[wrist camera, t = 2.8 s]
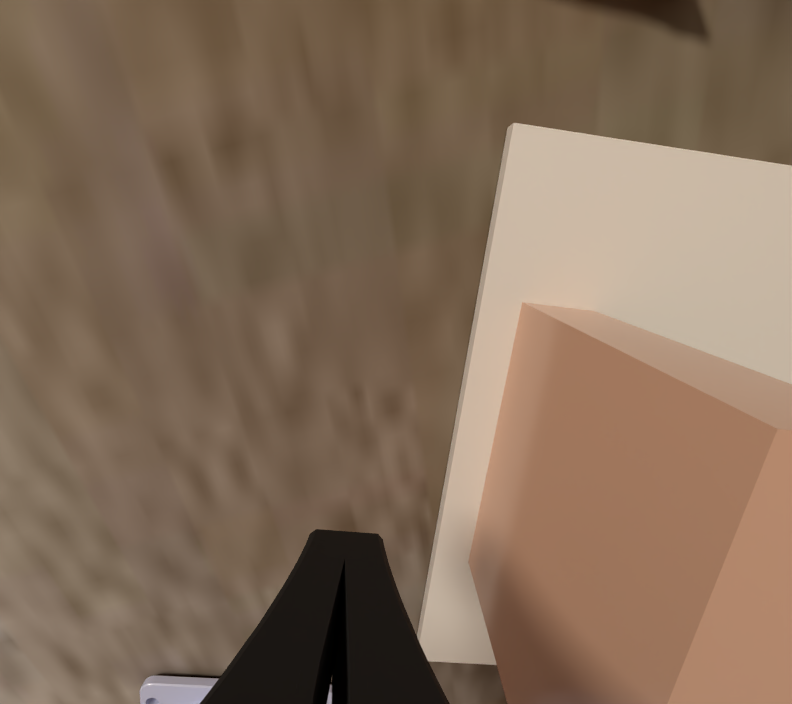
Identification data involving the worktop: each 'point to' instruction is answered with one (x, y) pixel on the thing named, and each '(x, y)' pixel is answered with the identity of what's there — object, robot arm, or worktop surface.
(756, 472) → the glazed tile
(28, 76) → the worktop surface
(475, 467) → the cutting board
